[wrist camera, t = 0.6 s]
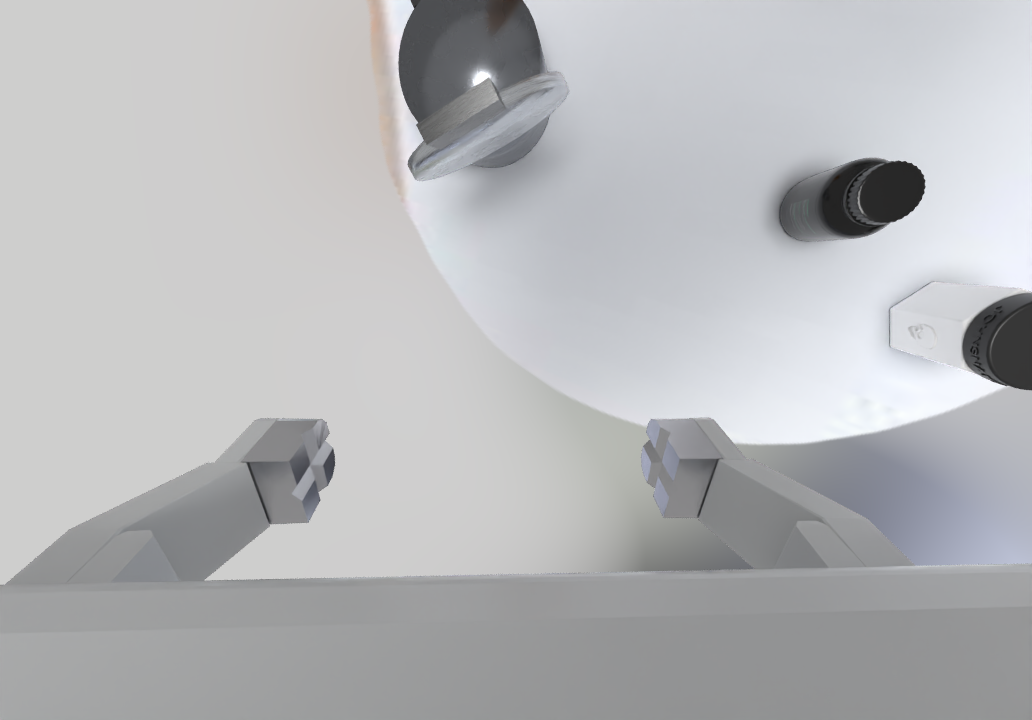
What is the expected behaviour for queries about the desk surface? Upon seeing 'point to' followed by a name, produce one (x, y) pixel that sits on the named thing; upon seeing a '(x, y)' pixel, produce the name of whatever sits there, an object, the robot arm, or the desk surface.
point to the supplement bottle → (852, 200)
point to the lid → (483, 123)
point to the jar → (969, 330)
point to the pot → (469, 58)
